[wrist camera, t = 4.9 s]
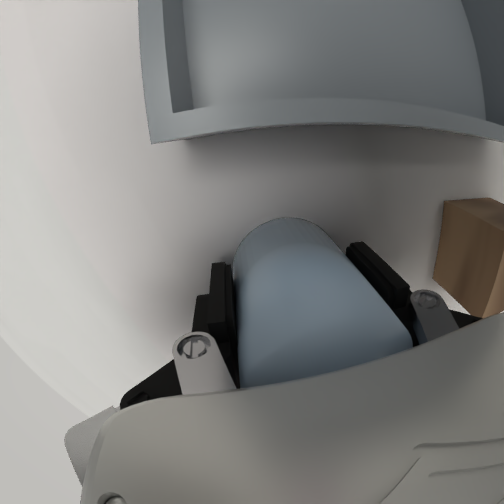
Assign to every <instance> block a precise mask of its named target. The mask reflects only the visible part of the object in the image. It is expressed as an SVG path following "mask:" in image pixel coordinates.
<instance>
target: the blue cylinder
mask: <svg viewBox="0 0 504 504" xmlns="http://www.w3.org/2000/svg"><path fill="white" fill-rule="evenodd" d="M233 281H234V296H235V312H236V327H237V342H238V348H237V350H238V364H239V377H240V389H241V388H248V387H255V386H262V385H268V384H275V383H280V382H286V381H291V380H296V379H301V378H306V377H311V376H316V375H320V374H324V373H329V372H333V371H337V370H341V369H345V368H349V367H352V366H356V365H359V364H363V363H366V362H370V361H373V360H377V359H380V358H383V357H386V356H389V355H392V354H395V353H398V352H401V351H404V350H407V349H410V348H413V343H412V338H411V336H410V334H409V332H408V330H407V329H406V328H405V326H404V325H403V324H402V322H401V321H400V320H399V319H398V317H397V316H396V315H395V314H394V312H393V311H392V310H391V309H390V307H389V306H388V305H387V304H386V302H385V301H384V300H383V299H382V297H381V296H380V295H379V294H378V293H377V291H376V290H375V289H374V288H373V287H372V285H371V284H370V283H369V282H368V281H367V279H366V278H365V277H364V276H363V275H362V274H361V272H360V271H359V270H358V269H357V268H356V267H355V265H354V264H353V263H352V262H351V261H350V260H349V259H348V257H347V256H346V255H345V254H344V253H343V252H342V251H341V250H340V248H339V247H338V246H337V245H336V244H335V243H334V242H333V241H332V240H331V239H330V237H329V236H328V235H327V234H326V233H325V232H324V231H323V230H322V229H321V228H319V227H318V226H317V225H315V224H313V223H311V222H309V221H306V220H303V219H298V218H280V219H275V220H272V221H269V222H266V223H264V224H262V225H260V226H259V227H257V228H256V229H254V230H253V231H252V232H251V233H249V234H248V235H247V236H246V238H245V239H244V240H243V241H242V243H241V244H240V245H239V247H238V249H237V251H236V254H235V257H234V261H233Z"/></svg>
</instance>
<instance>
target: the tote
mask: <svg viewBox="0 0 504 504" xmlns="http://www.w3.org/2000/svg"><path fill="white" fill-rule="evenodd" d="M138 15H139V40H140V55H141V68H142V78H143V88H144V97H145V105H146V113H147V120H148V127H149V134H150V140H151V144H156V143H163V142H170V141H177V140H185V139H190V138H196V137H202V136H208V135H214V134H220V133H227V132H235V131H243V130H251V129H261V128H272V127H284V126H301V125H331V124H354V125H384V126H399V127H411V128H421V129H430V130H438V131H445V132H452V133H458V134H464V135H469V136H475V137H480V138H484V139H489V140H494V141H499V142H503V143H504V0H138Z"/></svg>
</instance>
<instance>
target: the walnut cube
mask: <svg viewBox="0 0 504 504" xmlns="http://www.w3.org/2000/svg"><path fill="white" fill-rule="evenodd" d="M433 279H434V280H435V281H436V282H437V283H438V284H439V285H440V286H442V287H443V288H444V289H445V290H446V291H447V292H448V293H449V294H450V295H451V296H452V297H453V298H454V299H455V300H456V301H457V302H458V303H460V304H461V305H462V306H463V307H464V308H465V309H466V310H467V311H468V312H469V313H470V314H471V315H472V316H476V317H481V318H486V317H489V316H491V315H495V314H498V313H500V312H502V311H504V204H502V203H500V202H498V201H496V200H494V199H491V198H476V199H463V200H450V201H444V208H443V218H442V226H441V234H440V240H439V247H438V253H437V258H436V264H435V269H434V274H433Z"/></svg>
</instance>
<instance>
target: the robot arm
mask: <svg viewBox="0 0 504 504" xmlns="http://www.w3.org/2000/svg"><path fill="white" fill-rule="evenodd" d="M346 256H347V257H348V259H349V260H350V261H351V262H352V263H353V264H354V265H355V267H356V268H357V269H358V270H359V271H360V272H361V274H362V275H363V276H364V277H365V278H366V279H367V281H368V282H369V283H370V284H371V285H372V287H373V288H374V289H375V290H376V291H377V293H378V294H379V295H380V296H381V297H382V299H383V300H384V301H385V302H386V304H387V305H388V306H389V307H390V309H391V310H392V311H393V312H394V314H395V315H396V316H397V317H398V319H399V320H400V321H401V322H402V324H403V325H404V326H405V328H406V329H407V330H408V332H409V334H410V336H411V338H412V343H413V348H410V349H407V350H404V351H401V352H398V353H395V354H392V355H389V356H386V357H383V358H380V359H377V360H373V361H370V362H366V363H363V364H359V365H356V366H352V367H349V368H345V369H341V370H337V371H333V372H329V373H324V374H320V375H316V376H311V377H306V378H301V379H296V380H291V381H286V382H280V383H275V384H268V385H262V386H255V387H248V388H241V389H240V377H239V364H238V350H237V348H238V342H237V327H236V312H235V296H234V281H233V276H232V270H231V265H230V264H229V265H226V264H225V262H219V263H212V269H211V280H210V292H209V294H205V295H198V296H197V299H196V305H195V312H194V319H193V327H192V332H191V333H188V334H185V335H183V336H182V337H180V338H179V339H178V340H177V341H176V342H175V343H174V345H173V357H174V359H173V360H172V361H170V362H169V363H168V364H166V365H165V366H163V367H162V368H161V369H159V370H158V371H156V372H155V373H154V374H152V375H151V376H149V377H148V378H146V379H145V380H144V381H142V382H141V383H139V384H138V385H136V386H135V387H133V388H132V389H131V390H129V391H128V392H127V393H126V394H125V395H124V396H123V398H122V399H121V402H120V406H119V407H117V408H114V407H113V406H111V407H109V408H108V409H106V410H104V411H102V412H100V413H98V414H96V415H95V416H93V417H91V418H89V419H87V420H85V421H83V422H81V423H79V424H77V425H75V426H73V427H72V428H70V429H69V430H68V432H67V433H66V435H65V439H64V441H65V447H66V449H67V452H68V455H69V457H70V460H71V462H72V465H73V467H74V469H75V472H76V474H77V476H78V478H79V481H80V483H81V485H82V494H81V501H80V504H504V313H499V314H495V315H491V316H489V317H486V318H481V317H476V316H472V315H468V314H464V313H461V312H457V311H453V310H449V309H448V307H447V305H446V304H445V302H444V300H443V298H442V297H441V296H440V295H439V294H437V293H435V292H433V291H430V290H417V291H415V292H413V293H412V292H411V291H410V290H409V288H410V286H409V285H408V284H407V283H406V282H405V281H404V280H403V279H402V278H401V277H400V276H399V275H398V274H397V273H396V272H395V271H394V270H393V269H392V268H391V267H390V266H389V265H388V264H387V263H386V262H385V261H384V260H382V259H381V258H380V257H379V256H378V255H377V254H376V253H375V252H374V251H373V250H372V249H371V248H370V247H368V246H367V245H366V244H365V243H364V242H355V243H351V244H350V246H349V247H347V248H346Z"/></svg>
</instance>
